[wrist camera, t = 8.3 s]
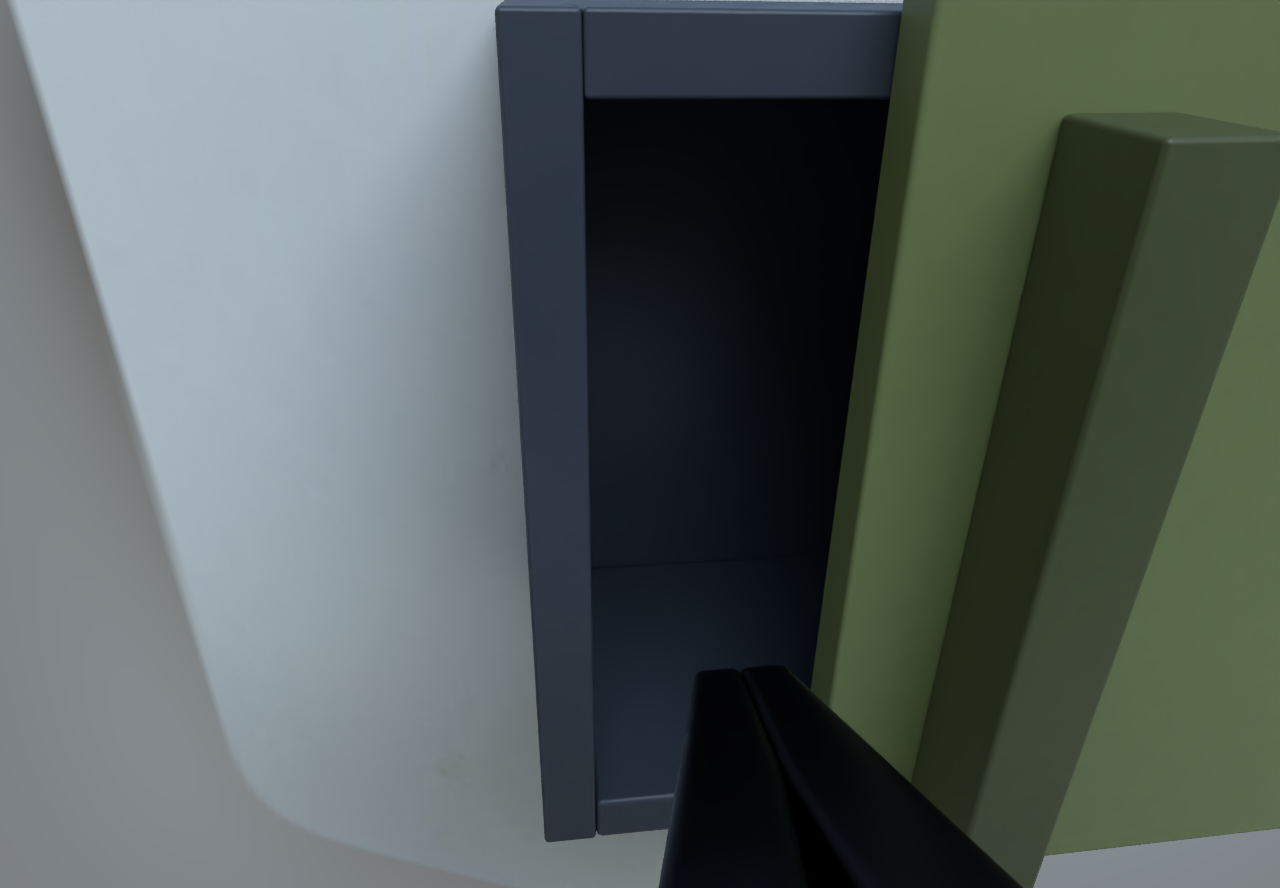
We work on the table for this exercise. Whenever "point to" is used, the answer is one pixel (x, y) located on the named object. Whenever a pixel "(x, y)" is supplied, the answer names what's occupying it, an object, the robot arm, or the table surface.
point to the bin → (679, 354)
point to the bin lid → (1069, 427)
